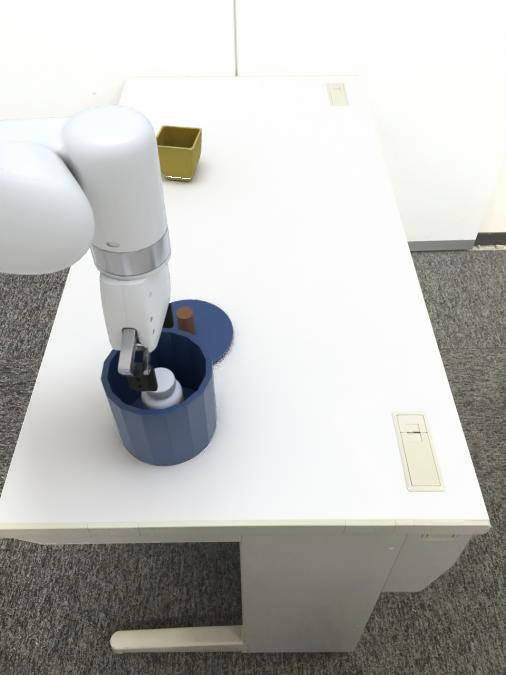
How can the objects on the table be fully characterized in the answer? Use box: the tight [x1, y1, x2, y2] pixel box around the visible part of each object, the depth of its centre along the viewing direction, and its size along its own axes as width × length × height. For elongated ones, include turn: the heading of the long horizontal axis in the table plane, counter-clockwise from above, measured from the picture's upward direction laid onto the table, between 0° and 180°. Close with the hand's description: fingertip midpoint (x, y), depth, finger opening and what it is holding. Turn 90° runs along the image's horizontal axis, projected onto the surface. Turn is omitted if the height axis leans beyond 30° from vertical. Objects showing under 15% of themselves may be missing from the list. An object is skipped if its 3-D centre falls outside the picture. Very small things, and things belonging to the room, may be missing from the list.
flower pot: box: [156, 124, 203, 182], centre depth 113 cm, size 9×9×9 cm
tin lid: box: [170, 298, 234, 364], centre depth 84 cm, size 15×15×6 cm
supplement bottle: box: [141, 368, 184, 410], centre depth 71 cm, size 5×5×10 cm
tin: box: [100, 328, 217, 467], centre depth 71 cm, size 14×14×12 cm
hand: (153, 355), depth 64 cm, fingers open, 9 cm apart
